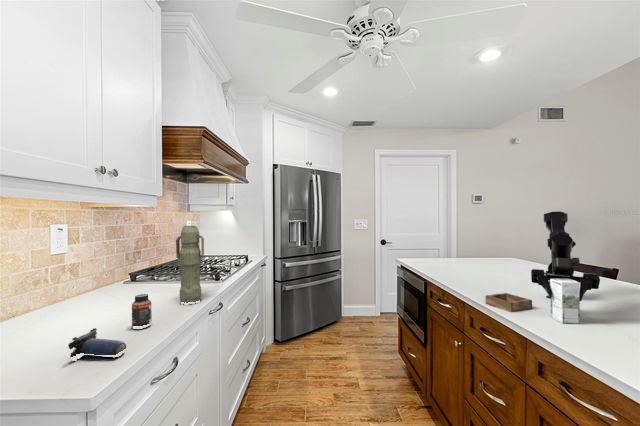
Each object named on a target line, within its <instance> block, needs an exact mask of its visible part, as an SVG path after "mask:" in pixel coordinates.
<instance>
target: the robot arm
mask: <svg viewBox="0 0 640 426" xmlns="http://www.w3.org/2000/svg"><path fill="white" fill-rule="evenodd" d="M568 218H569V217H568V213H566V212H564V211H559V210H558V211H549V212H547V213H544V214H543V223H545V227H546V229H547V230H548V232H550V233H549V236H548V237H549V238H547V239H546V240H547V241H546V242H547V248H549V250H550V257H551V259H550V260H551V262H550V263H549V265H547V270H546V271H545V270H544V269H539V268H537V269H536V268H532V269H531V270H530V274H531V275H530V276H531V277H530V278H531V279H530V280H531V283H533V284H537V285H538V286H541V287H542V288H543V289H544V290H545V292H546V294H547V295H546V296H545V297H546V298H547V299H551V289H550V279H571V280H574V281H577V282H579V291H580V302H582V301H583V298H584V296H585V294H586V292H587V291H591V290H597V289H599V287H600V282H601V277H600V275H599V274H597V273H590V272H583V273H582V276H576V275H574V274H575V269H574V268H576V269H579V268H580V266H581V265H580V262H581V261H580V257H572V255H571V253H572V251H573V248H574V247H575V246H577V244H576V241H574V240H573V238H572V237H571V236H570V233H569V232H567V231H566V230H565V228H566V224H567V223H568V222H569V219H568Z"/></svg>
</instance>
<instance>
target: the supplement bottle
mask: <svg viewBox="0 0 640 426" xmlns="http://www.w3.org/2000/svg"><path fill="white" fill-rule="evenodd" d="M152 316H153V315H152V300H151V299H149V294H148V293H140V294H136V295H135V296H134V302H132V303H131V327H132V326H143V325H147V324H150V323H151V322H152Z"/></svg>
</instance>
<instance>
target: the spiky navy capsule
mask: <svg viewBox="0 0 640 426" xmlns="http://www.w3.org/2000/svg"><path fill="white" fill-rule="evenodd" d="M97 334H98V328H97V327H95V328H92V329H91V330H90V331H89V332H87V333H85V334H83V335H81V336H78V337H76V336H75V337H73V338H72V340H71V341H69V343H68V344H67V347H68V349H69V350H72V352H70V357H69V358H71V357H73V356H76V354H80V353H84V354H94V355H116V354H118V353H119V352H121V351H123V350H124V349H127V344H126V343H125V341H123V340H116V339H107V338H106V339H105V338H97Z"/></svg>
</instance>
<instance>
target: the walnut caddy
mask: <svg viewBox="0 0 640 426" xmlns="http://www.w3.org/2000/svg"><path fill="white" fill-rule="evenodd" d="M485 305H489V306H490V307H495V308H497V309H500V310H504V311H506V312H509V313H515V312H521V311H526V310H531V309H533V300H532V299H530V298H525V297H523V296H519V295H514V294H511V293H508V292H507V293H506V292H502V293H501V292H500V293H495V294H487V295H485Z"/></svg>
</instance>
